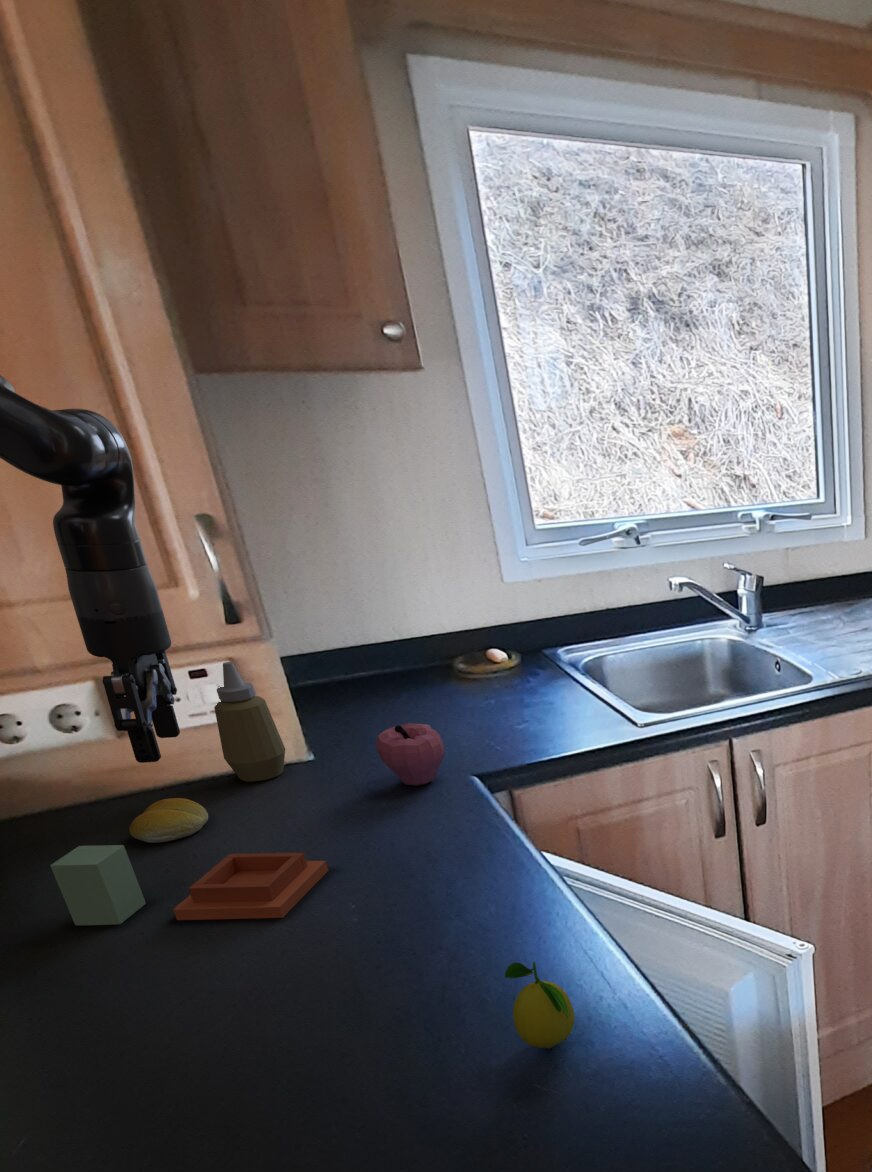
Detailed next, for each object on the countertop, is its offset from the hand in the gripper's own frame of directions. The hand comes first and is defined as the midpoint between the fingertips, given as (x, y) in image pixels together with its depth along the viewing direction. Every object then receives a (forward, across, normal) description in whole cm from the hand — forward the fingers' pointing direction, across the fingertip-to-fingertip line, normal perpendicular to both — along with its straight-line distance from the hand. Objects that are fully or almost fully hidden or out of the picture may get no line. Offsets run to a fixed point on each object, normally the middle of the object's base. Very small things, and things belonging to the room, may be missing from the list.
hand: (159, 748), depth 121 cm
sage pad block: (+20, +1, -9) cm, 22 cm away
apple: (+18, -30, +22) cm, 42 cm away
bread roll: (+20, -23, -8) cm, 31 cm away
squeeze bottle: (+19, -41, 0) cm, 45 cm away
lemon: (+19, +46, +38) cm, 63 cm away
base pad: (+19, +1, +6) cm, 20 cm away
